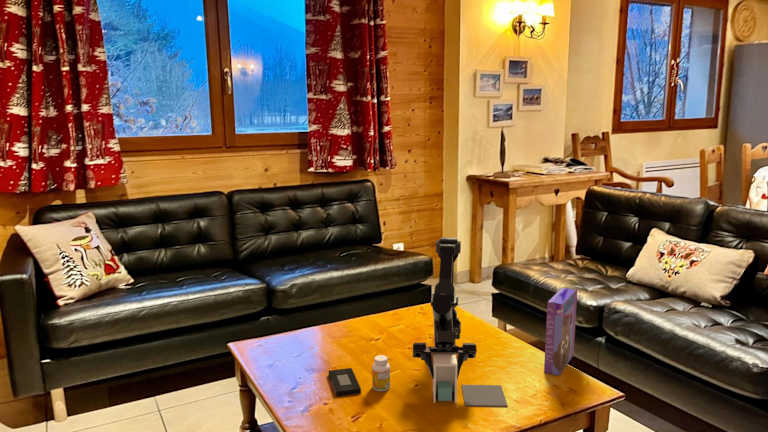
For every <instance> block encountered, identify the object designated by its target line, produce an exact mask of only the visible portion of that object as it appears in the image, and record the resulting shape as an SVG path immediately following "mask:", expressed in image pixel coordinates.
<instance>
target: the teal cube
mask: <svg viewBox="0 0 768 432" xmlns="http://www.w3.org/2000/svg"><path fill="white" fill-rule="evenodd" d="M436 395H437V401H439V402H443V401H444V402H452V401H453V393H452V385H451V382H438V388H437V392H436Z"/></svg>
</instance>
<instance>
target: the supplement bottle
mask: <svg viewBox="0 0 768 432" xmlns="http://www.w3.org/2000/svg"><path fill="white" fill-rule="evenodd" d="M388 361H389V359H388V356H386V355H383V354H380V355H376V356H375V357H374V363H373V364H372V367H371V370H372V371H371V374H372V381H371V382H372V385H371V386H372V389H373V390H374V391H377V392H386V391H388V390H390V388H391V365H390V363H388Z"/></svg>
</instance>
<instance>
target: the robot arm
mask: <svg viewBox="0 0 768 432" xmlns="http://www.w3.org/2000/svg"><path fill="white" fill-rule="evenodd" d="M461 247H462V241H460V240H458V237H445V236H444V237H443V236H441V237H439V240H436V242H435V253H437V255H438V257H439V260H440V261H439V262H440V263H439V276H438V277H439V278H438V283H436V284H435V286H434V293H432V294H431V299H430V307H431V308H432V317H433V330H434V331H433V335H434V336H433V338H434V339H433V340H434V342H433V343H434V345H433V346H427V342H413V345H412V358H414V359H415V358H418V359H420V360H421V361H424V363H425V365H426V366H427V369H428V371H429V373H430V376H431V379H432V380H433V379H434V371H433V358H432V357H433V355H432V354H447V355H457V357H456V359H457V380H458V379H459V375H460V373H461V368H462V366H463V364H464V362H467V361H468V359H476V356H477V352H478V350H477V349H478V348H477V345H476V343H474V342H473V343H472V342H463V343H462V345H461V346H459V345H456V340H460V339H461V333H462V331H461V330H462V326H461V325H462V323H461V321H460V318H459V317H458V312H457V309H456V308H457V306H459V297H458V295H457V294H455V293H456V292H455V291H456V290H455V286H454V281H455V280H454V279H455V278H454V273H455V271H454V270H455V262H456V261H457V259H458V257H459V255H460V254H461V252H462V251H461V250H462V248H461Z"/></svg>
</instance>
